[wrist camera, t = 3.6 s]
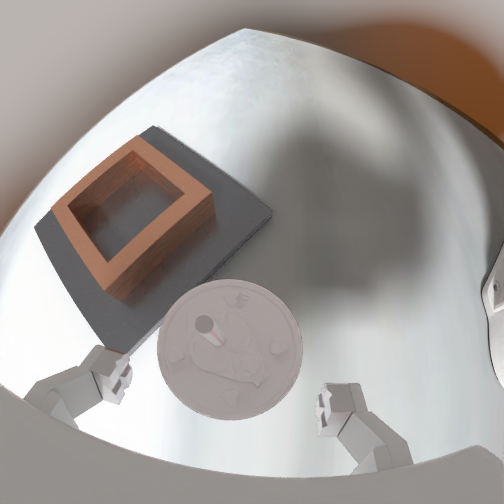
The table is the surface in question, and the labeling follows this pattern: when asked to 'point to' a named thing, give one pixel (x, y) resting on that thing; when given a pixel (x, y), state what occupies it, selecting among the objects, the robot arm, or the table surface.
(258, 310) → the smoothie
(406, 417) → the table surface
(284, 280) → the table surface
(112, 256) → the mount
